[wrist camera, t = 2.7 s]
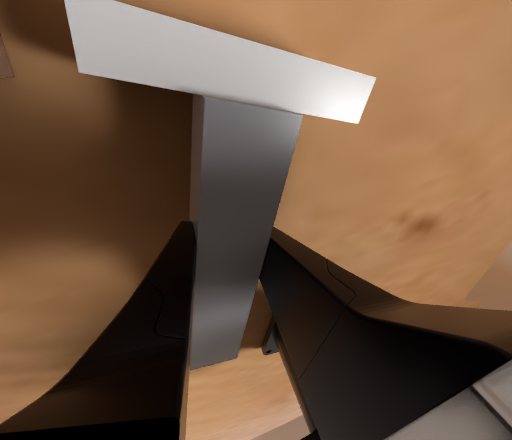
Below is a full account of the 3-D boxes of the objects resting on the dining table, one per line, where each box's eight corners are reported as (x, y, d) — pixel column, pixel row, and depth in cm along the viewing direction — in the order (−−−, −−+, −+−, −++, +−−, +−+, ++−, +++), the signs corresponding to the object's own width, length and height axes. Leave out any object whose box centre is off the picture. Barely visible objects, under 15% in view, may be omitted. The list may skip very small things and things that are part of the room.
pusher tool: (258, 303, 15) (275, 348, 12) (144, 323, 12) (138, 383, 10) (327, 74, 8) (393, 79, 6) (98, 12, 5) (44, -28, 3)
